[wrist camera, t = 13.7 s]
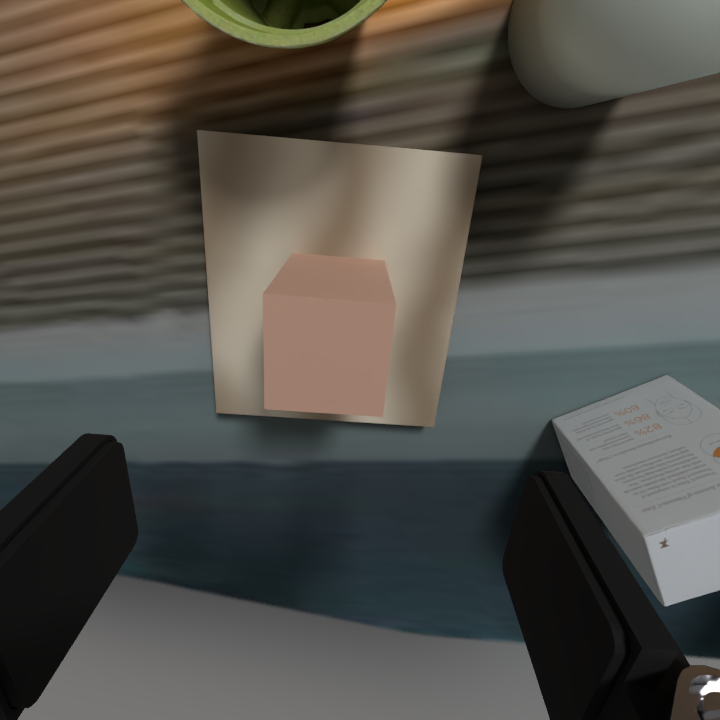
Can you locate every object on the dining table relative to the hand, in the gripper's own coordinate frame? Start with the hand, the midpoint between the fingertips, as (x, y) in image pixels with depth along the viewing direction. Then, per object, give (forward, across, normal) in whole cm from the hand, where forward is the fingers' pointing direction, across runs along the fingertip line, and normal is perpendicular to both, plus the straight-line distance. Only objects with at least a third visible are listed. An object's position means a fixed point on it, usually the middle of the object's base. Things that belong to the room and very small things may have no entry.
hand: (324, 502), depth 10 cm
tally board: (+17, +1, 0) cm, 17 cm away
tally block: (+16, +1, 0) cm, 16 cm away
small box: (+18, -19, +8) cm, 27 cm away
